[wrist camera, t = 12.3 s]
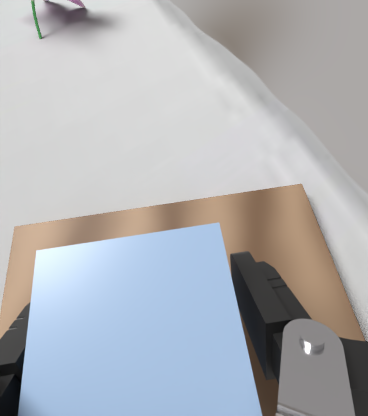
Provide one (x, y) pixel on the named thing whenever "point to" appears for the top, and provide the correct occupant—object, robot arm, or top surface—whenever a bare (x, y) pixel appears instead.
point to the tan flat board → (233, 241)
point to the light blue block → (137, 330)
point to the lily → (74, 0)
